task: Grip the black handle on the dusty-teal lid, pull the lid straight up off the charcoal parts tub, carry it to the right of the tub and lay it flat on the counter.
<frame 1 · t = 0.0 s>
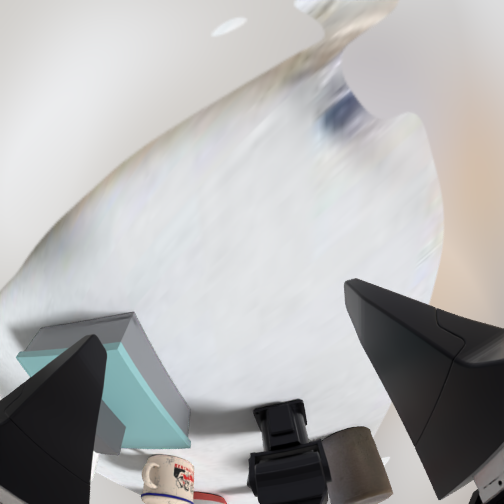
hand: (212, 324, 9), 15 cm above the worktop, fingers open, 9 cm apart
pillar candle: (343, 440, 39), on the worktop
citrus juicer: (203, 496, 48), on the worktop
lid: (103, 404, 24), point 5 cm above the worktop, touching tub
eye dropper bottle: (87, 443, 37), on the worktop
tub: (114, 373, 29), on the worktop
teacup with lid: (166, 459, 39), on the worktop
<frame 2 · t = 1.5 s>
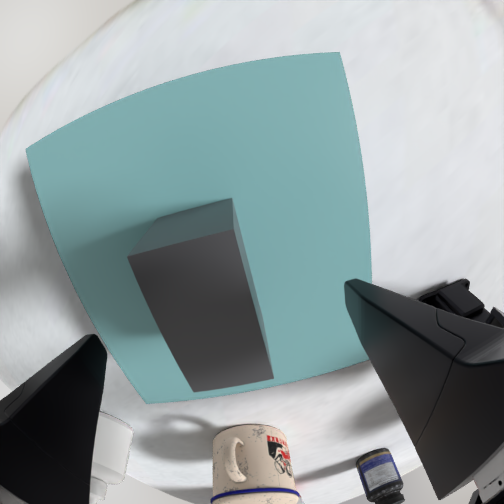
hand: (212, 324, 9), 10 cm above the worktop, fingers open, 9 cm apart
pill bottle: (371, 455, 35), on the worktop
lid: (214, 262, 13), point 5 cm above the worktop, touching tub
eye dropper bottle: (112, 420, 26), on the worktop
teacup with lid: (245, 434, 28), on the worktop
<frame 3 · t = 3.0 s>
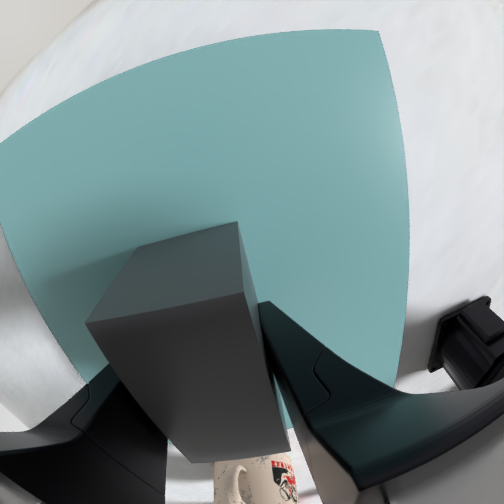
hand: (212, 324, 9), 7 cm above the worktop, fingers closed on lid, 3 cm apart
lid: (214, 299, 10), point 5 cm above the worktop, touching gripper, tub
teacup with lid: (248, 457, 25), on the worktop
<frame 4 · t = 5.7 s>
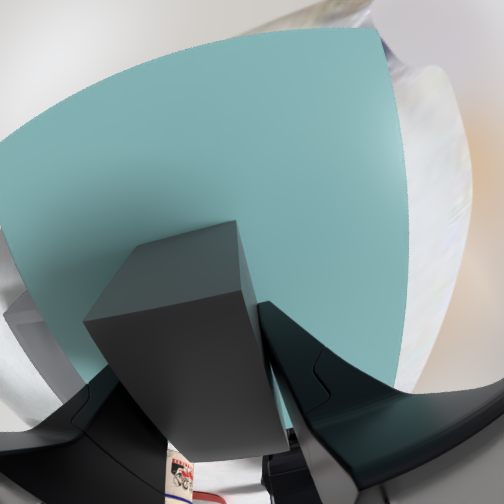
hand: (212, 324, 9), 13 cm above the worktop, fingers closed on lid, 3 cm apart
citrus juicer: (200, 496, 44), on the worktop
lid: (213, 299, 10), point 12 cm above the worktop, touching gripper
tub: (107, 346, 25), on the worktop
teacup with lid: (163, 454, 35), on the worktop
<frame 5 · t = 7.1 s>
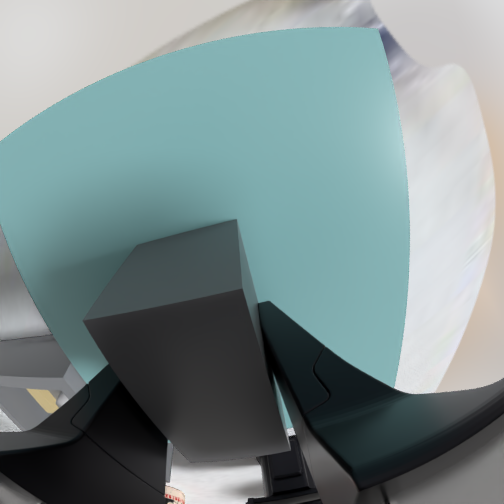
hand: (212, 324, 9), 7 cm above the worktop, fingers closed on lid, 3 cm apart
lid: (213, 298, 10), point 6 cm above the worktop, touching gripper
tub: (79, 400, 21), on the worktop
teacup with lid: (153, 486, 31), on the worktop
when the fingers open (4 cm above the worktop, at t = 8.3 s): lid drops 2 cm, point 1 cm above the worktop.
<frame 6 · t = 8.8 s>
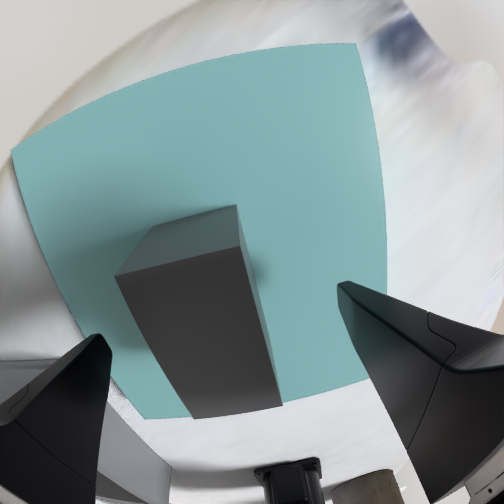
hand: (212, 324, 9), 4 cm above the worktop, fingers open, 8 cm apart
pillar candle: (360, 482, 28), on the worktop
lid: (216, 275, 12), point 1 cm above the worktop
tub: (70, 424, 18), on the worktop
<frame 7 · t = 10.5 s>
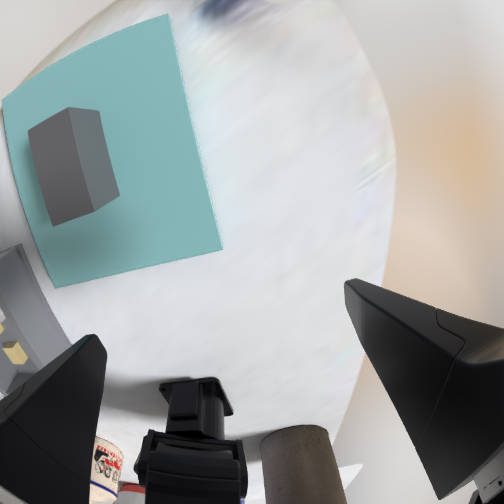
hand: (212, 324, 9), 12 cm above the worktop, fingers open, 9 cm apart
pillar candle: (293, 440, 33), on the worktop
citrus juicer: (150, 490, 42), on the worktop
lid: (95, 159, 17), point 1 cm above the worktop
tub: (17, 323, 22), on the worktop
teacup with lid: (94, 441, 32), on the worktop
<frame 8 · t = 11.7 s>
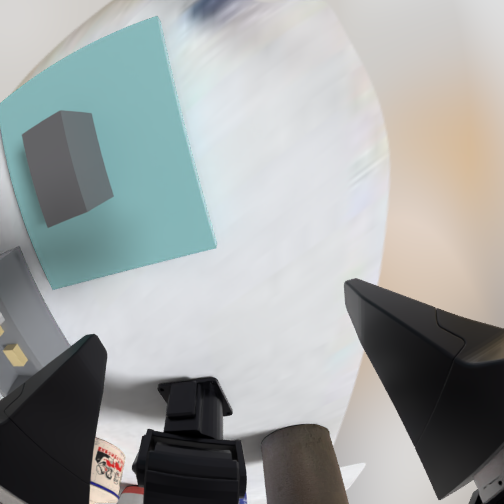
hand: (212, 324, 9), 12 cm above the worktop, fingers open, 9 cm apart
pillar candle: (294, 440, 33), on the worktop
citrus juicer: (152, 492, 42), on the worktop
lid: (89, 161, 17), point 1 cm above the worktop
tub: (16, 325, 23), on the worktop
teacup with lid: (95, 442, 32), on the worktop
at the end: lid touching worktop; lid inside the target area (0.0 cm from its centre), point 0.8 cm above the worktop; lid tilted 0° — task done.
